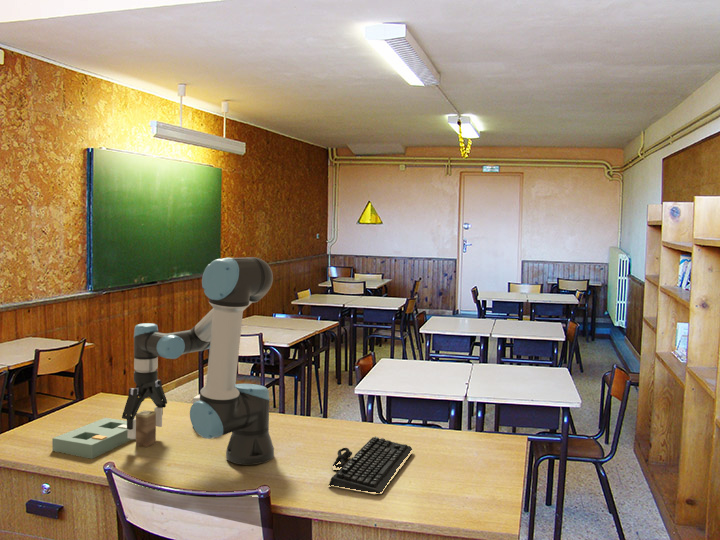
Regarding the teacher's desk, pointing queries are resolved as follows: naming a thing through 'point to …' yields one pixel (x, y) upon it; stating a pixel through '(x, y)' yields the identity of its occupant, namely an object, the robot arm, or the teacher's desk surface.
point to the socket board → (92, 438)
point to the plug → (145, 428)
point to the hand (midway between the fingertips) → (145, 432)
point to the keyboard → (369, 465)
